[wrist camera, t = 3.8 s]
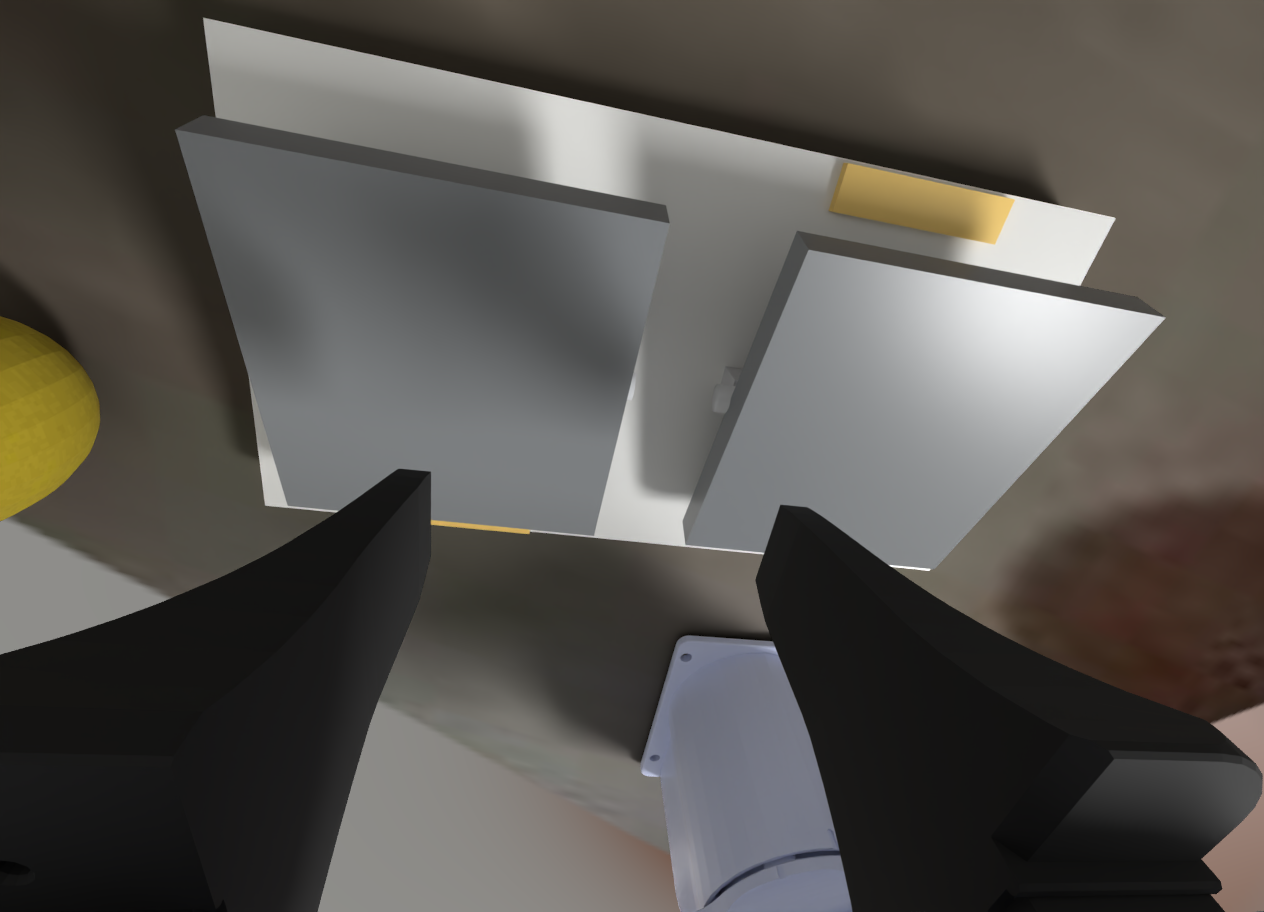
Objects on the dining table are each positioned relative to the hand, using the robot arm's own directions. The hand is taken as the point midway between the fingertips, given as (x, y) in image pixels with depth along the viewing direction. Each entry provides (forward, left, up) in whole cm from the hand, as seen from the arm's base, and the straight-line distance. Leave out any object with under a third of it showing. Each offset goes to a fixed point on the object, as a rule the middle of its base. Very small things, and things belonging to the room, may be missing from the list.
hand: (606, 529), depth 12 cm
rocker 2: (+1, -8, -5) cm, 10 cm away
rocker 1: (+1, +4, -5) cm, 7 cm away
